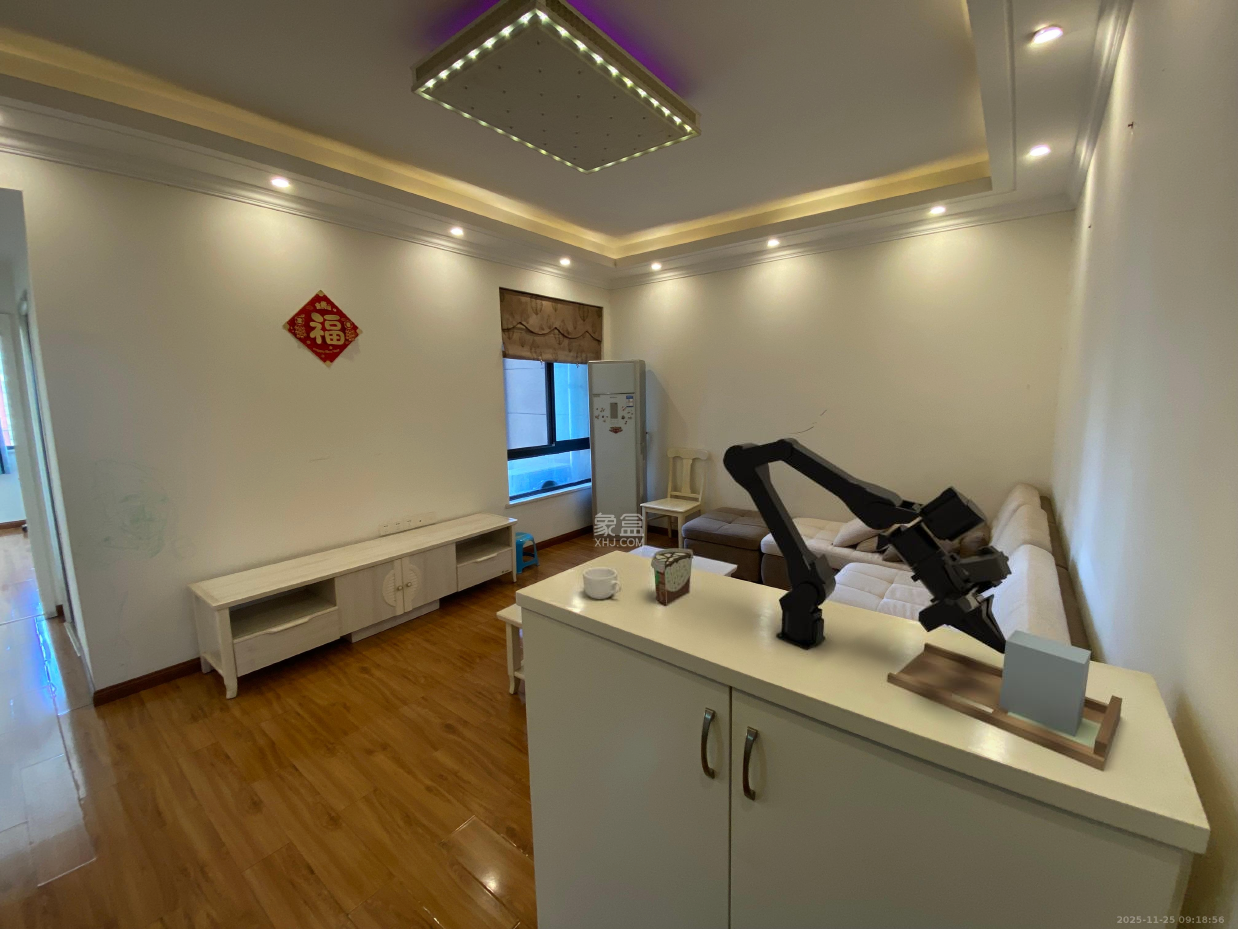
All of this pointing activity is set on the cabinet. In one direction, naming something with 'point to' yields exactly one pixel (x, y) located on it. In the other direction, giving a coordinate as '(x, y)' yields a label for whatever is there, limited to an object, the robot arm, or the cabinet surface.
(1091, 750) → the tray
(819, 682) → the cabinet surface
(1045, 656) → the slate block
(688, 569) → the food container
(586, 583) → the teacup
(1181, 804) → the cabinet surface
